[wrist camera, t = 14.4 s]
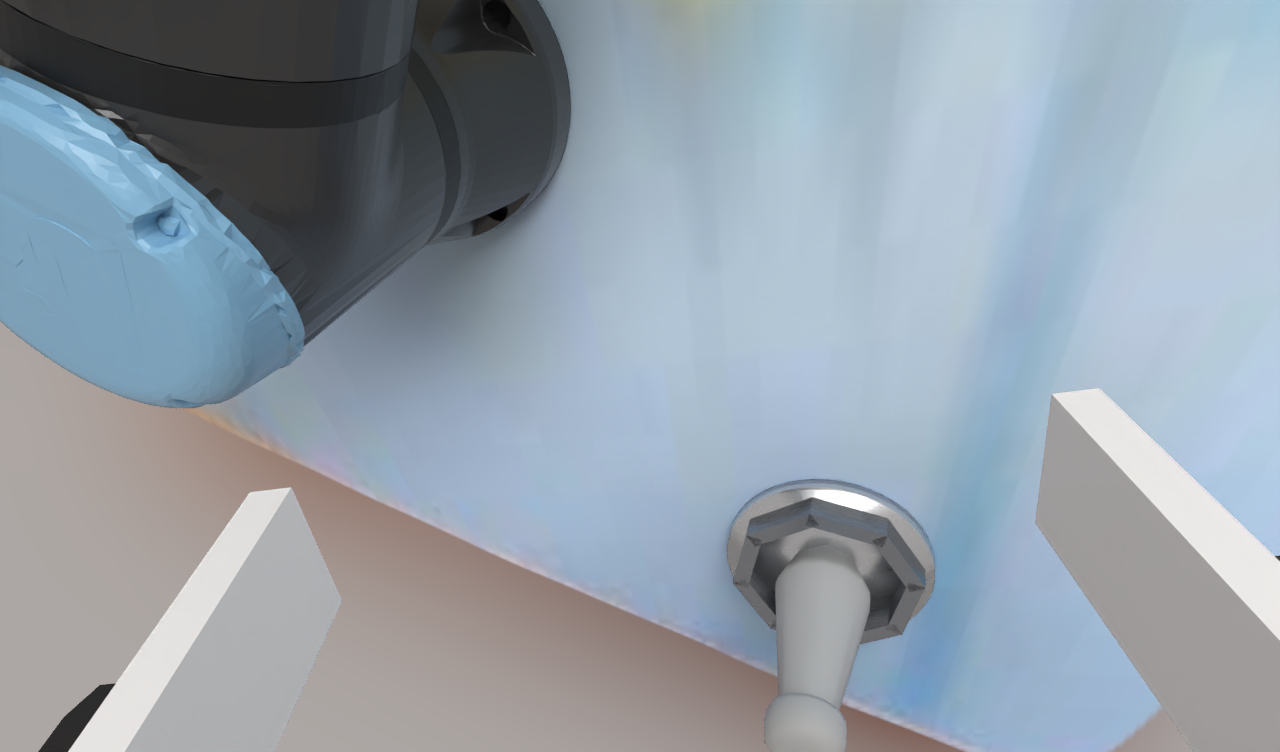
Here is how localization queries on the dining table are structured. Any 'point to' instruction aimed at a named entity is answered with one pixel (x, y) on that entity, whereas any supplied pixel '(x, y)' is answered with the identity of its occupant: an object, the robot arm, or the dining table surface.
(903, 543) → the steel collar
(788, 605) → the salt shaker
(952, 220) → the dining table surface
